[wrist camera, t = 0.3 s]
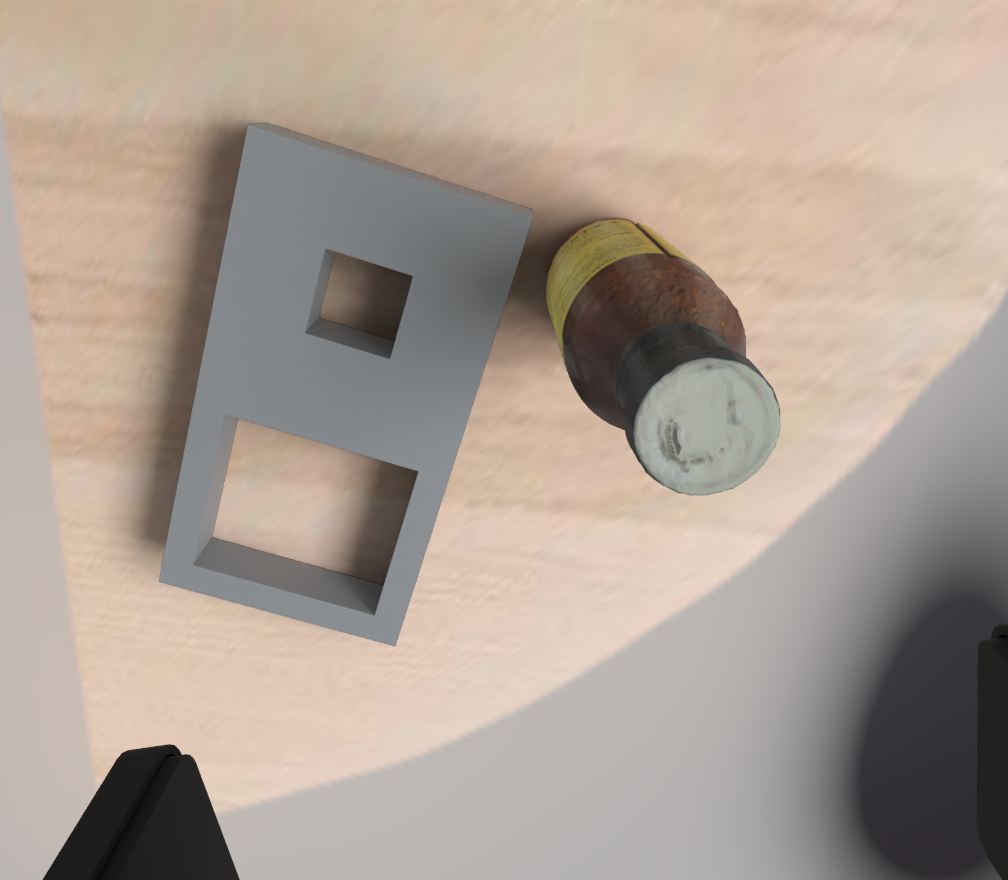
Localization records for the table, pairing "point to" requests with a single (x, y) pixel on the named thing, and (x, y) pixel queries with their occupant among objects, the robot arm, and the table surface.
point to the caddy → (339, 359)
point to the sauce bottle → (661, 357)
